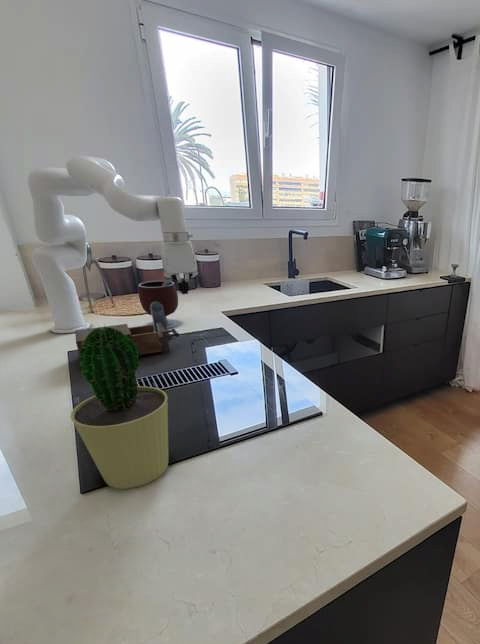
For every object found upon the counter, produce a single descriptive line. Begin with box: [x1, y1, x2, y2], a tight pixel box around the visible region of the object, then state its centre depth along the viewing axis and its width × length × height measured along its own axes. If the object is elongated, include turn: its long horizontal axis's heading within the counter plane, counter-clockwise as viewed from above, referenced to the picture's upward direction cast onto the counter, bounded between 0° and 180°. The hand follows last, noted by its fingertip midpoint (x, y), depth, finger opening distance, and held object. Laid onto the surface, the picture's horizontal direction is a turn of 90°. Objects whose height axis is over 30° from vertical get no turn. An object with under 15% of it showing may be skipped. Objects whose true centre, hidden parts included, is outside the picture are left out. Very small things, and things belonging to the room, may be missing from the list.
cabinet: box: [74, 323, 132, 356], centre depth 127 cm, size 15×13×9 cm
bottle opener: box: [150, 301, 173, 342], centre depth 145 cm, size 5×6×14 cm
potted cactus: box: [70, 324, 170, 490], centre depth 72 cm, size 15×15×30 cm
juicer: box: [82, 242, 115, 313], centre depth 177 cm, size 10×11×30 cm
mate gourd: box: [137, 278, 181, 330], centre depth 158 cm, size 16×14×20 cm
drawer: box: [128, 323, 180, 356], centre depth 134 cm, size 18×11×7 cm, turn 124°
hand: (184, 293), depth 135 cm, fingers closed
